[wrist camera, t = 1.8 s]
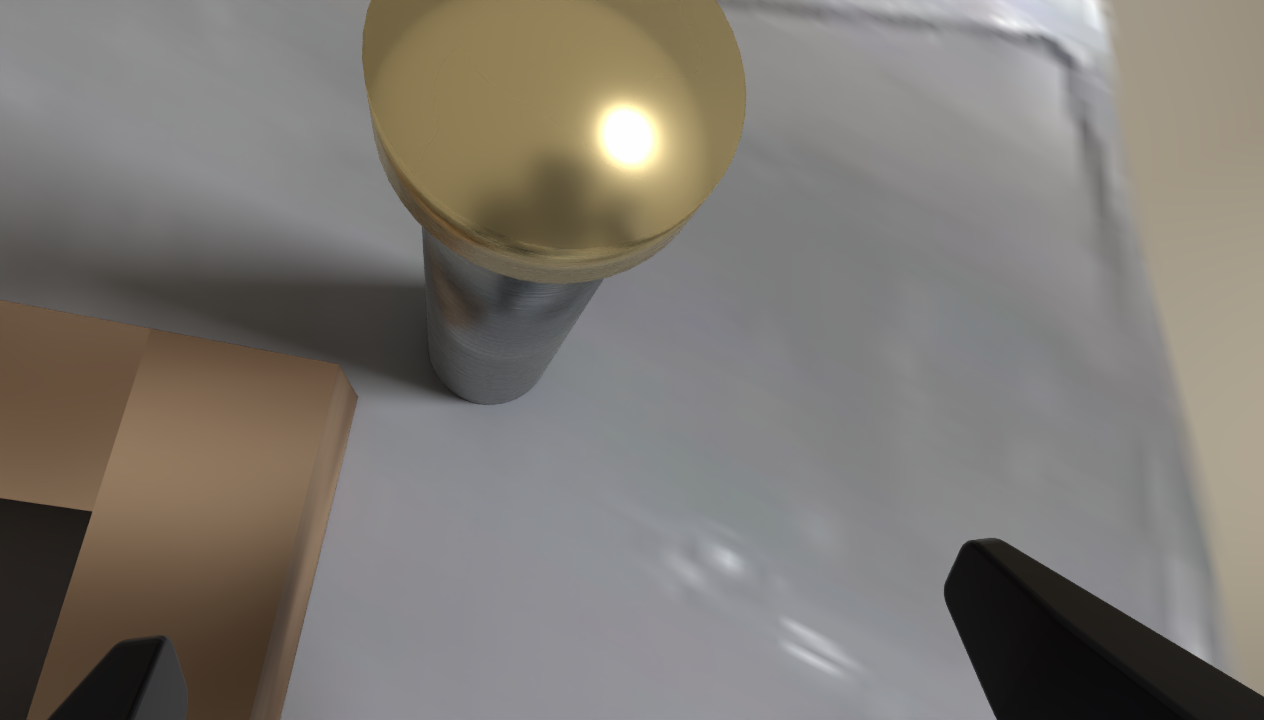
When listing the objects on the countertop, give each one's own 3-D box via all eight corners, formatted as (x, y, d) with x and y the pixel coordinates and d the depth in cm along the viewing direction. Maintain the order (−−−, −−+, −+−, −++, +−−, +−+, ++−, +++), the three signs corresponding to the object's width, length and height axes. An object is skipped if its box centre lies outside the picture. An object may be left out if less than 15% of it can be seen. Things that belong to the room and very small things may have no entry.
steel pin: (552, 436, 21) (724, 287, 8) (392, 407, 20) (317, 193, 8) (578, 290, 22) (764, -37, 9) (427, 256, 21) (411, -150, 9)
